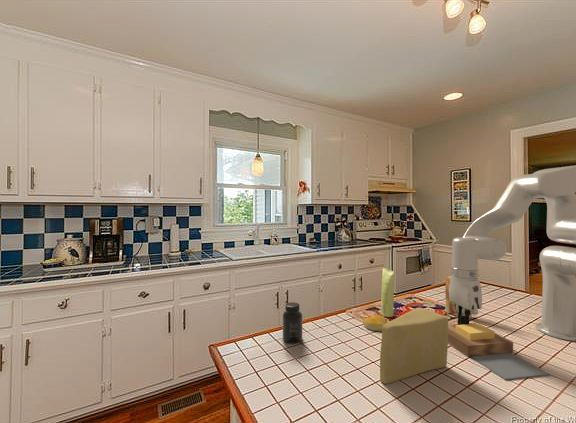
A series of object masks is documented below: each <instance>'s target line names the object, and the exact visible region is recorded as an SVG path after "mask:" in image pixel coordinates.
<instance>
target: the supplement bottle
mask: <svg viewBox="0 0 576 423" xmlns="http://www.w3.org/2000/svg"><path fill="white" fill-rule="evenodd" d="M284 309H285V311H284V312H283V313H282V339H283V341H284V342H285V343H288V344H297V343H300V342H301V341H302V340H303V313H302V312H301V311H300V310H301V309H300V304H299V303H298V302H296V301H295V302H293V301H292V302H291V301H290V302H286V303H285V308H284Z"/></svg>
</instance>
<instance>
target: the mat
mask: <svg viewBox="0 0 576 423" xmlns="http://www.w3.org/2000/svg"><path fill="white" fill-rule="evenodd" d="M471 358H472V359H473V360H474V361H476V362H477V363H479V364H480V365H481V366H483V367H484V368H486V369H488V370H489V371H491V372H492V373H494V374H495V375H496V376H498V377H500V378H501V379H503V380H504V381H508V380H510V381H511V380H517V379H527V378H528V379H529V378H538V377H543V376H544V377H547V376H550V373H549V372H547V371H545V370H543V369H542V368H540V367H538V366H536V365H534V364H532V363H531V362H528V360H525V359H524V358H521V357H520V356H519V355H516V354H514V352H513V353H504V354H493V355H482V356H472V357H471Z"/></svg>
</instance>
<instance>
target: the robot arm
mask: <svg viewBox="0 0 576 423" xmlns="http://www.w3.org/2000/svg"><path fill="white" fill-rule="evenodd" d="M535 199H536V200H537V199H544V201H545V202H546V208H547V209H546V235H547V237H548V239H550V240H551V241H554V242H556V243H563V244H570V245H576V165H569V166H568V165H567V166H561V167H560V166H559V167H551V168H550V167H549V168H544V169H540V170H537V171H534V172H533V173H529V174H528V173H527V174H522V175H517V176H516V177H513V179H511V180H510V182H508V184H507V187H506V188H505V189H504V191H503V192H502V194H501V195H500V197H499V199H498V200H497V201H496V203H495V204H494V206H493V208H491V209H490V210H489V211H487V212H486V213H484V214H483V215H481V216H480V217H479V218H477V219H475V221H473V222H472V223H471V224H470V225H469V227H468V228H467V230H466V232H465V233H464V234H463V236H461V237H455V238H453V239H452V244H451V245H452V246H451V253H452V254H451V275H450V276H451V278H450V284H449V299H450V301H451V304H453V305H454V306H455V308H456V312H457V313H458V316H457V324H458V325H465V324H469V323H470V318H469V317H470V316H471V314H472V315H479V311H478V310H482V308H483V294H482V286H481V282H480V279H478V278H479V276H480V275H479V273H478V272H479V260H487V261H498V260H500V259H502V258H504V256H506V254H507V246H506V244H505V242H503V241H502V240H500V239H498V238H494V237H487V236H488V235H489V234H490V233H491V232H493V231H495V230H497V229H499V228H503V227H506V226H509V225H512V224H516V223H518V222H519V221H521V220H522V219H523V217H524V215H525V214H526V212H527V211H528V209H529V208H530V206H531V204H532V203H533V201H534V200H535ZM538 258H539V263H540V268H541V274H542V295H541V297H542V298H541V300H542V301H541V322H538V323H536V324H535V328H536V329H537V330H538V331H539V332H541V333H542V334H546V335H548V336H550V337H552V338H553V337H554V338H556V339H560V340H566V341H570V342H572V341H573V342H576V247H570V246H563V245H549V246H547V247H545V248H543V249H542V250H541V251H540V253H539V257H538Z"/></svg>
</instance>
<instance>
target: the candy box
mask: <svg viewBox="0 0 576 423" xmlns="http://www.w3.org/2000/svg"><path fill="white" fill-rule="evenodd" d="M450 278H451V275H450V276H448V277H445V313H446V312H447V313H446V314H449V313H451V315H453V316H456V317H458V313H457V312H456V308H455V306H454V305H453V304H451V301H450V299H449V284H450ZM472 316H473V314H471V316H470V317H469V319H471V318H472Z"/></svg>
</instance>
